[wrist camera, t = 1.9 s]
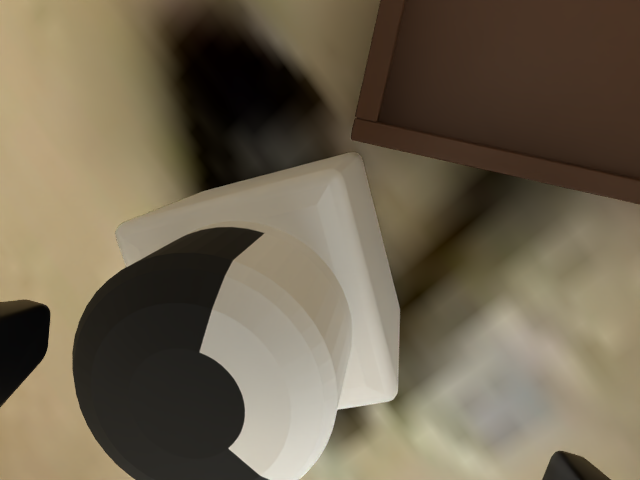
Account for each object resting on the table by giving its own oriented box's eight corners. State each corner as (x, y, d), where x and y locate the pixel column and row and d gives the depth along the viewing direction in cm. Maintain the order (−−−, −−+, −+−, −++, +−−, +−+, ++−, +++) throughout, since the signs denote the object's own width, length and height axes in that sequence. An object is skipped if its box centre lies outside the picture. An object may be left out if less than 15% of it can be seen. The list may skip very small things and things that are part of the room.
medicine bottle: (246, 343, 23) (95, 565, 12) (198, 191, 22) (-25, 277, 11) (402, 313, 22) (398, 534, 10) (360, 148, 21) (305, 194, 9)
